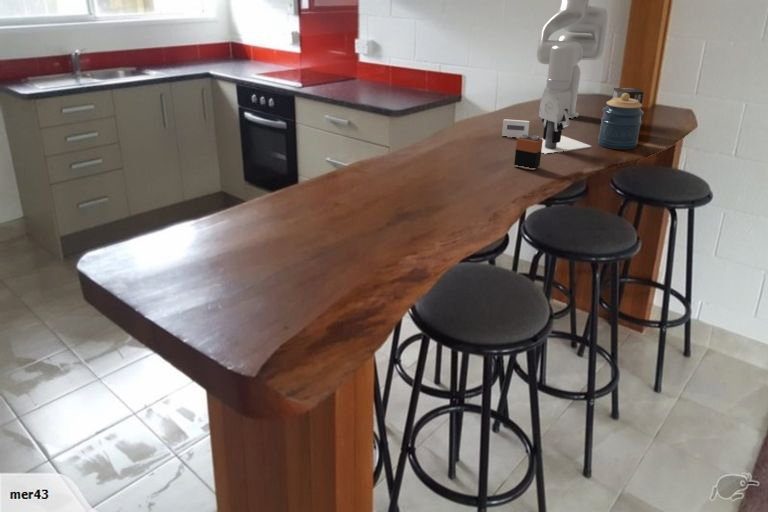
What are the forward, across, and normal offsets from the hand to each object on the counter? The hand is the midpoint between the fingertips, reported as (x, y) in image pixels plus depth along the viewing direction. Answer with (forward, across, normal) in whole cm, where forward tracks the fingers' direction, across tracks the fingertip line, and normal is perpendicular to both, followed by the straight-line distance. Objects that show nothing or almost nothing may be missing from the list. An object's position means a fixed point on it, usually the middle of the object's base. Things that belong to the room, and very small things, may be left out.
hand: (551, 140), depth 205 cm
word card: (+3, -17, -2) cm, 17 cm away
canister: (+3, +6, +24) cm, 25 cm away
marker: (+2, 0, 0) cm, 2 cm away
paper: (+3, -3, +4) cm, 6 cm away
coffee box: (+3, -4, +36) cm, 36 cm away
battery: (+3, +13, -20) cm, 24 cm away
